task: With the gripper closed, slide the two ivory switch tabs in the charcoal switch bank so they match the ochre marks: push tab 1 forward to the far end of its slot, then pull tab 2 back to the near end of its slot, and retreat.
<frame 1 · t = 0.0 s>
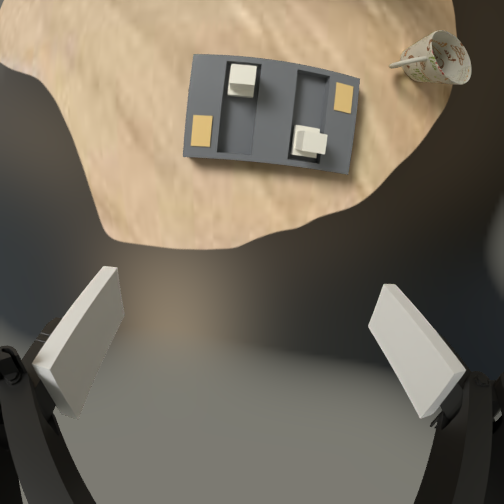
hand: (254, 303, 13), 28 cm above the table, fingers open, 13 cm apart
switch bank: (271, 112, 34), on the table
mug: (405, 67, 31), on the table
tab 2: (308, 141, 32), point 4 cm above the table, slide at 7.0 cm
tab 1: (242, 78, 29), point 4 cm above the table, slide at 0.0 cm
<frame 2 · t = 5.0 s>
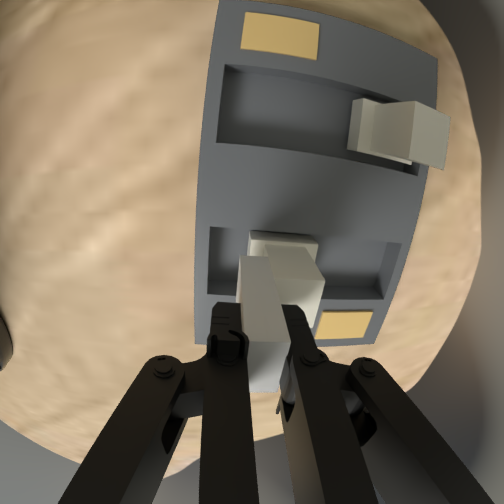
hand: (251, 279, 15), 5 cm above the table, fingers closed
switch bank: (310, 186, 18), on the table
tab 2: (400, 133, 12), point 4 cm above the table, slide at 7.0 cm
tab 1: (285, 277, 15), point 4 cm above the table, slide at 1.7 cm, touching gripper
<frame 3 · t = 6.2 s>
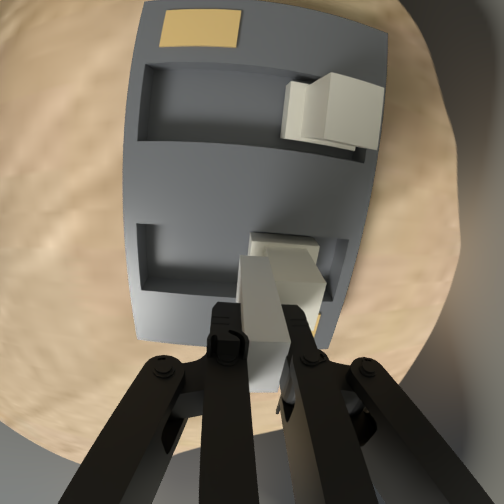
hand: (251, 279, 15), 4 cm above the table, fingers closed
switch bank: (247, 180, 17), on the table
tab 2: (332, 114, 12), point 4 cm above the table, slide at 7.0 cm
tab 1: (286, 279, 15), point 4 cm above the table, slide at 5.9 cm, touching gripper
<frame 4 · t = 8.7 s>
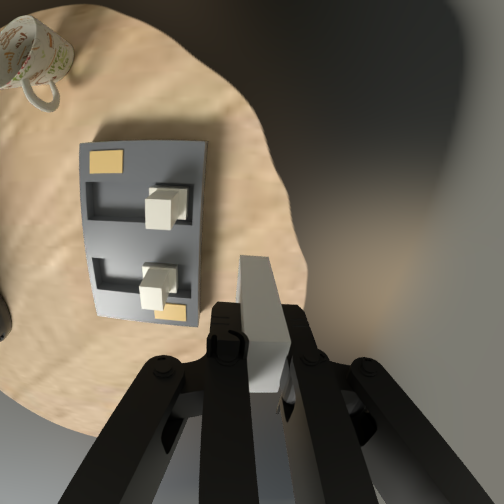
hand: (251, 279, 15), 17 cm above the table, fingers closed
switch bank: (144, 233, 31), on the table
mug: (60, 74, 22), on the table
tab 2: (164, 206, 26), point 4 cm above the table, slide at 7.0 cm
tab 1: (156, 285, 30), point 4 cm above the table, slide at 5.9 cm
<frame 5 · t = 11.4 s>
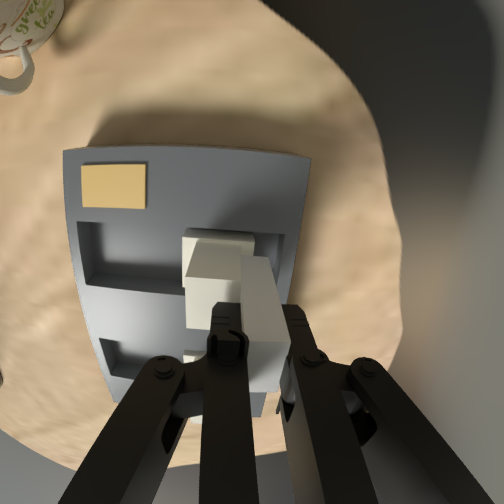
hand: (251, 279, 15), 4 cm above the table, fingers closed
switch bank: (181, 299, 20), on the table
mug: (41, 39, 11), on the table
tab 2: (215, 276, 15), point 4 cm above the table, slide at 6.1 cm, touching gripper
tab 1: (209, 384, 18), point 4 cm above the table, slide at 5.9 cm
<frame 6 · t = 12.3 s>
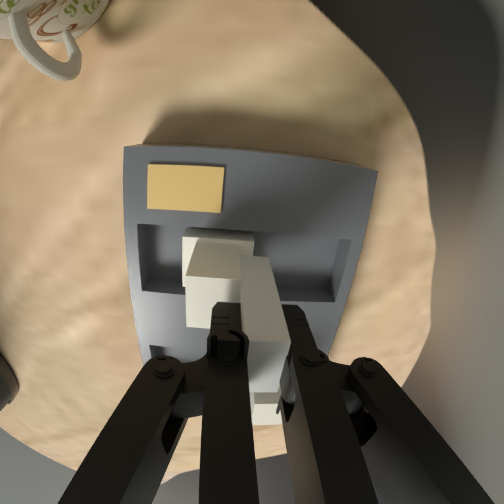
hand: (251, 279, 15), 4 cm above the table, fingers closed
switch bank: (236, 302, 21), on the table
mug: (83, 26, 11), on the table
tab 2: (215, 275, 15), point 4 cm above the table, slide at 2.0 cm, touching gripper
tab 1: (266, 385, 19), point 4 cm above the table, slide at 5.9 cm
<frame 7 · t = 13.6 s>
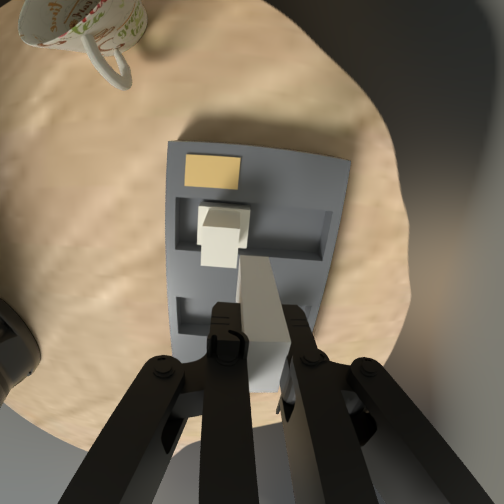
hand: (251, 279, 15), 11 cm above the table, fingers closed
switch bank: (246, 264, 26), on the table
mug: (125, 44, 17), on the table
tab 2: (222, 233, 21), point 4 cm above the table, slide at 1.1 cm
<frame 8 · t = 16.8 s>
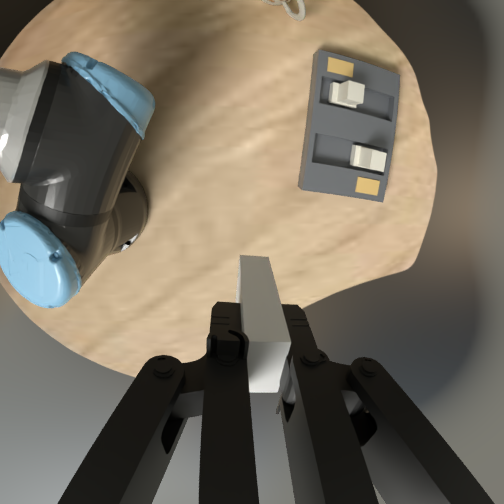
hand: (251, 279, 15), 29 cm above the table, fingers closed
switch bank: (348, 126, 39), on the table
mug: (280, 1, 30), on the table
tab 2: (348, 94, 33), point 4 cm above the table, slide at 1.1 cm
tab 1: (369, 158, 37), point 4 cm above the table, slide at 5.9 cm
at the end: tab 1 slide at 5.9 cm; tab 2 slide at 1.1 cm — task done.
